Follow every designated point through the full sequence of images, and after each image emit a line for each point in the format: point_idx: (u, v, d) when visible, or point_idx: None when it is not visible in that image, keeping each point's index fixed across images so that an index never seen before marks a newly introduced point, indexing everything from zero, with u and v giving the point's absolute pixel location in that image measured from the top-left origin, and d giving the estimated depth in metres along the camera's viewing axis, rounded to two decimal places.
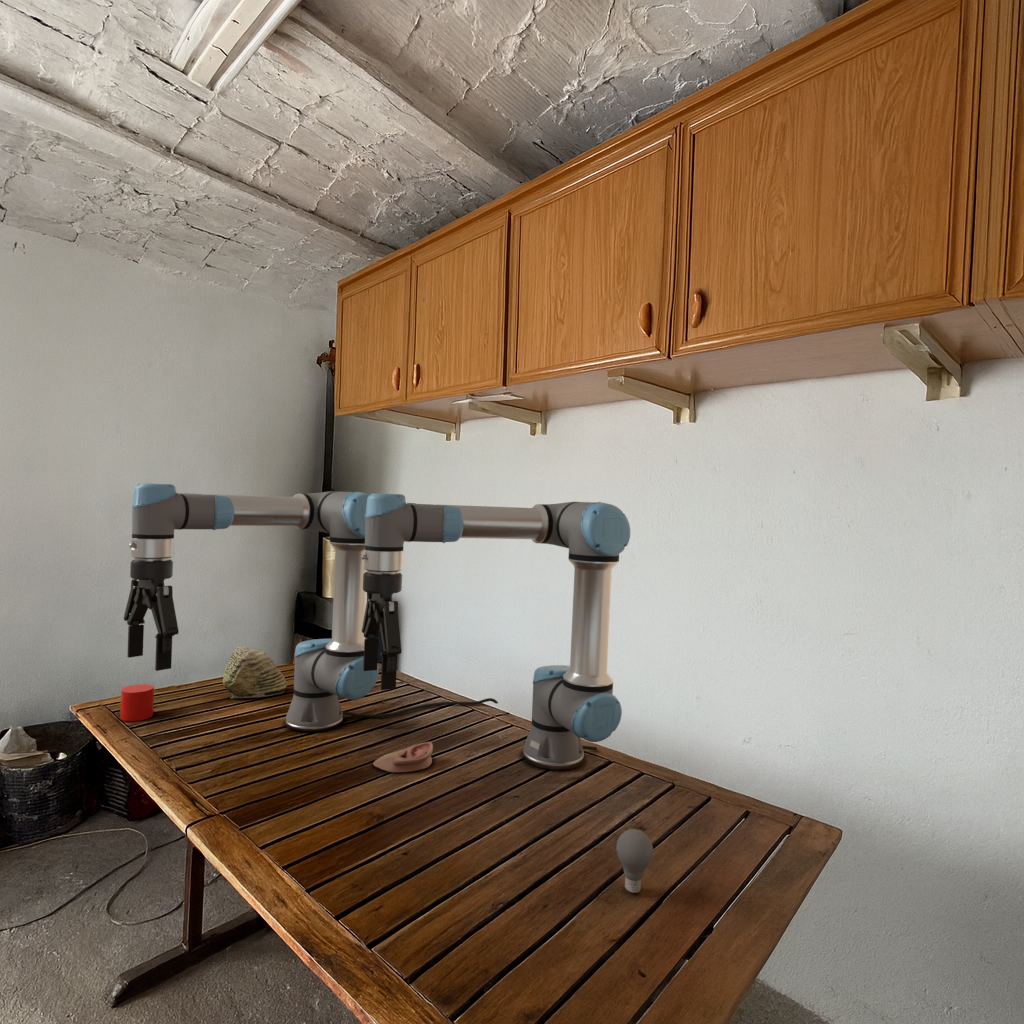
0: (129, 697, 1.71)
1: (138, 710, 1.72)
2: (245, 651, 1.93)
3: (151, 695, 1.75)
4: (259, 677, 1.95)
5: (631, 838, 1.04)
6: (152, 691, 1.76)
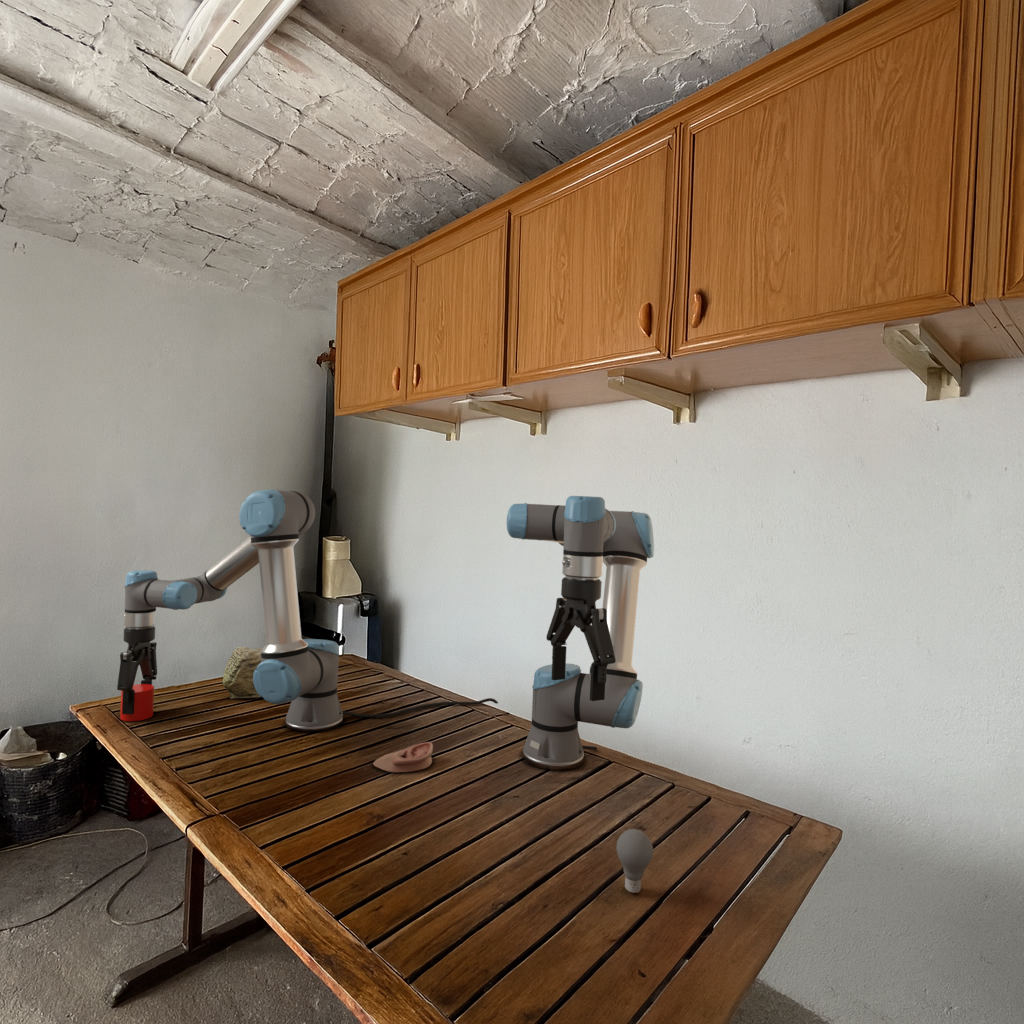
0: None
1: (138, 710, 1.72)
2: (245, 651, 1.93)
3: (151, 695, 1.75)
4: None
5: (631, 838, 1.04)
6: (152, 691, 1.76)
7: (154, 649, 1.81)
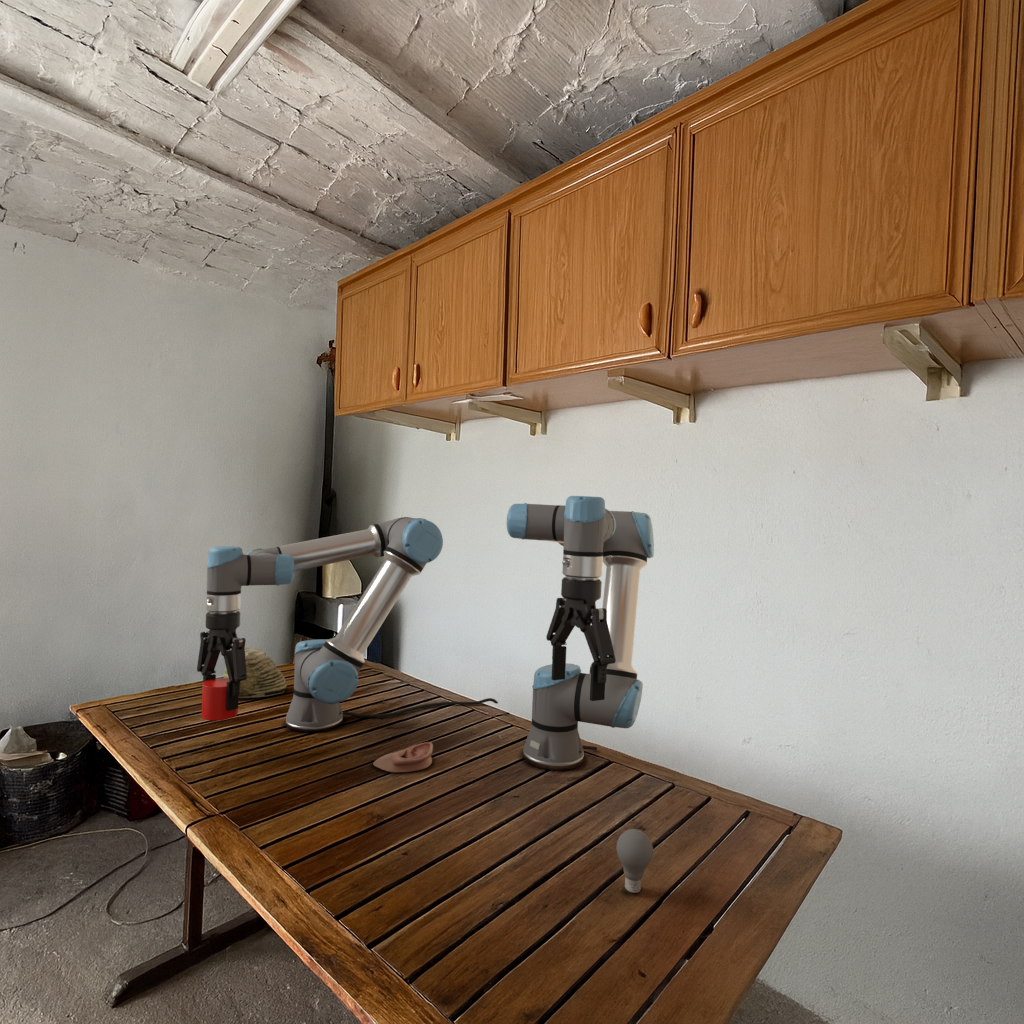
0: None
1: None
2: (245, 651, 1.93)
3: None
4: (259, 677, 1.95)
5: (631, 838, 1.04)
6: None
7: None
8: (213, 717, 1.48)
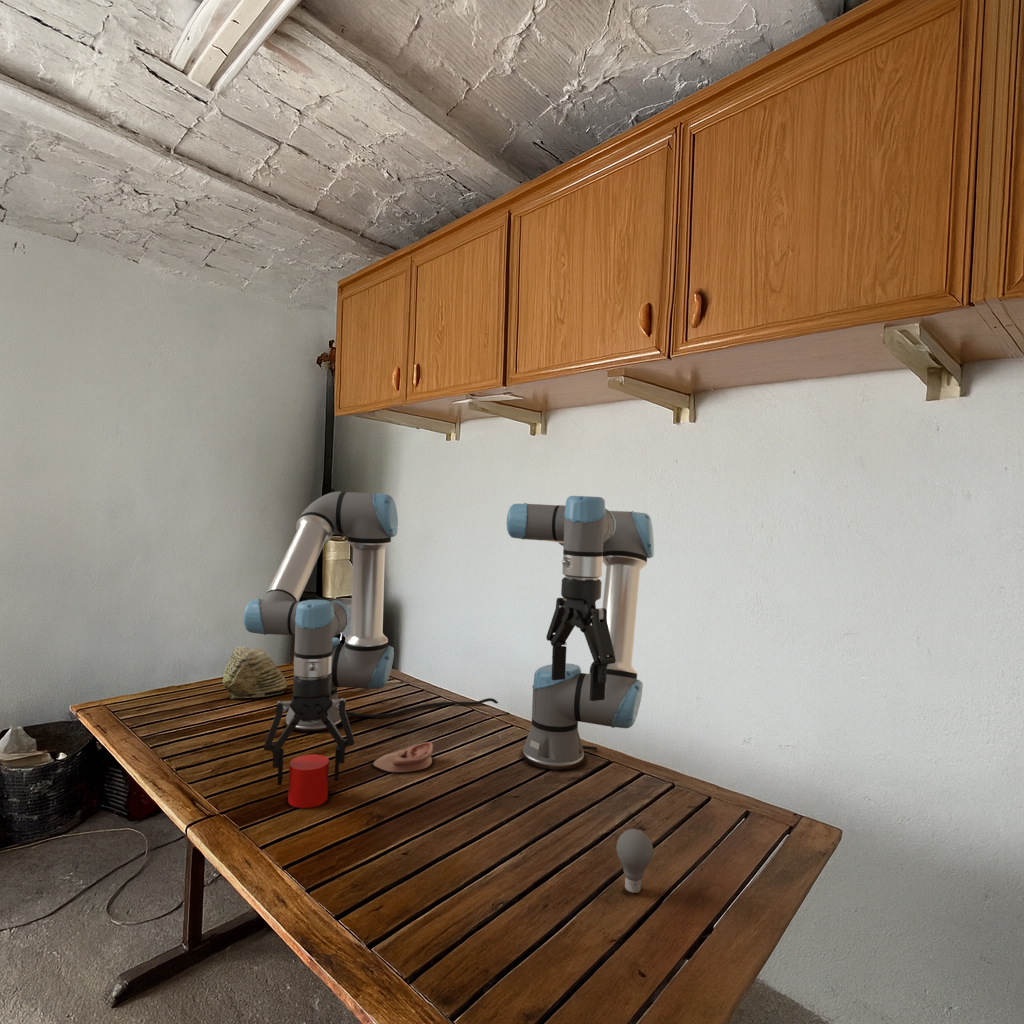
0: (328, 766, 1.34)
1: None
2: (245, 651, 1.93)
3: None
4: (259, 677, 1.95)
5: (631, 838, 1.04)
6: None
7: None
8: (318, 801, 1.30)
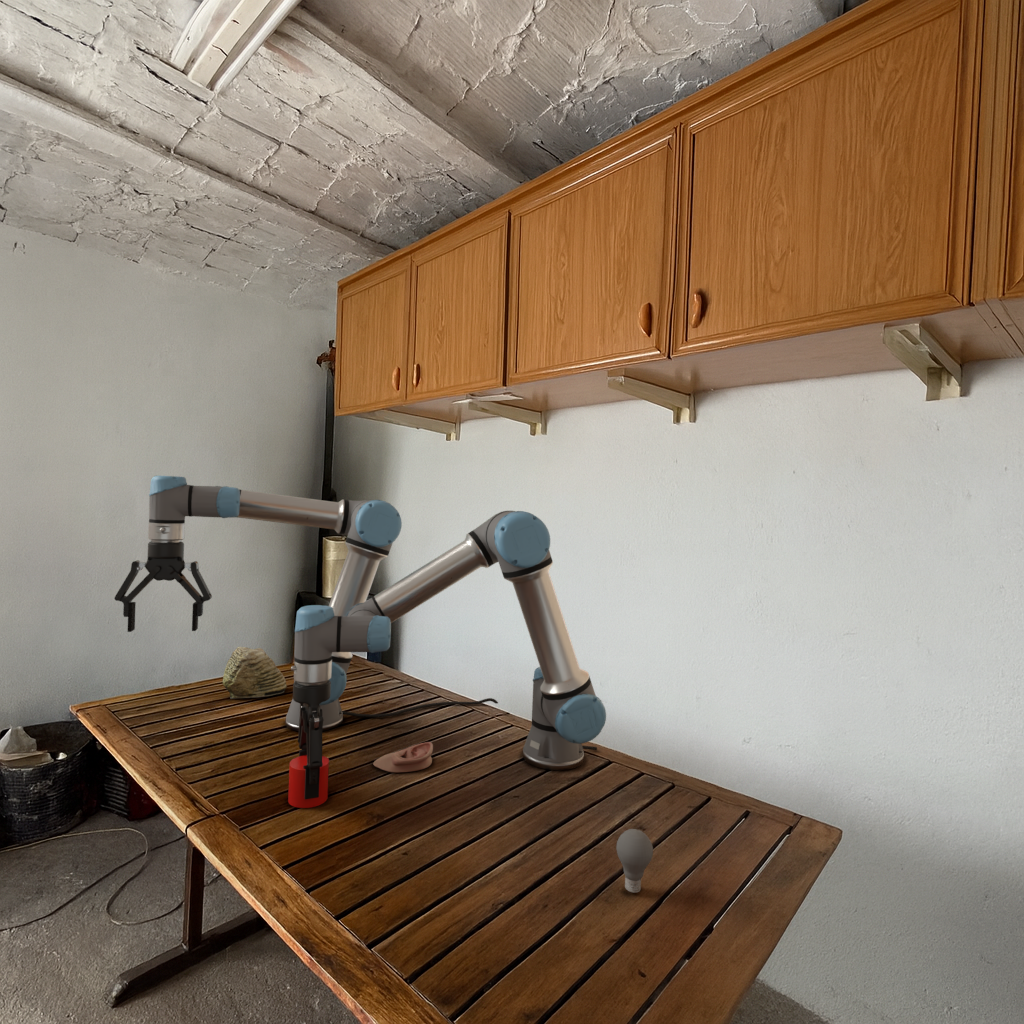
0: (328, 766, 1.34)
1: None
2: (245, 651, 1.93)
3: None
4: (259, 677, 1.95)
5: (631, 838, 1.04)
6: None
7: None
8: (318, 801, 1.30)
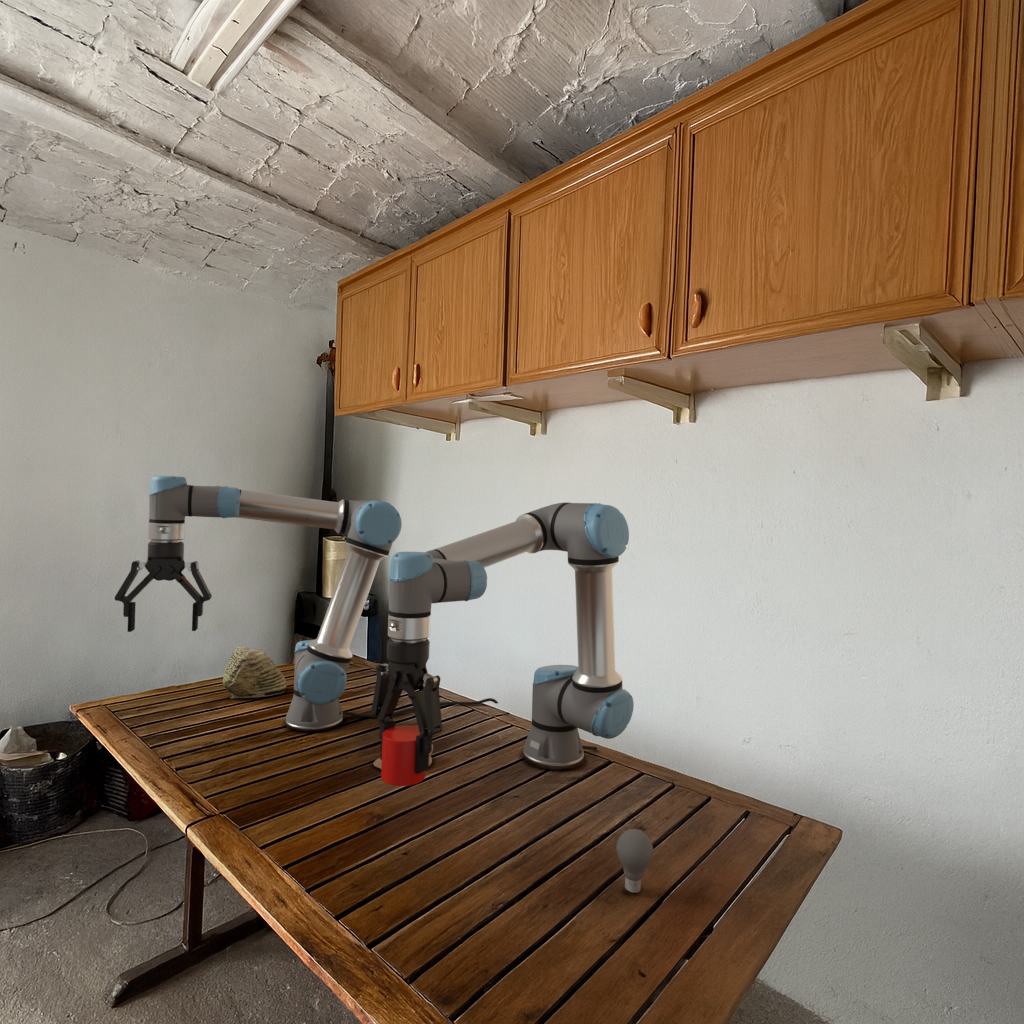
0: None
1: None
2: (245, 651, 1.93)
3: None
4: (259, 677, 1.95)
5: (631, 838, 1.04)
6: None
7: None
8: (424, 775, 1.13)
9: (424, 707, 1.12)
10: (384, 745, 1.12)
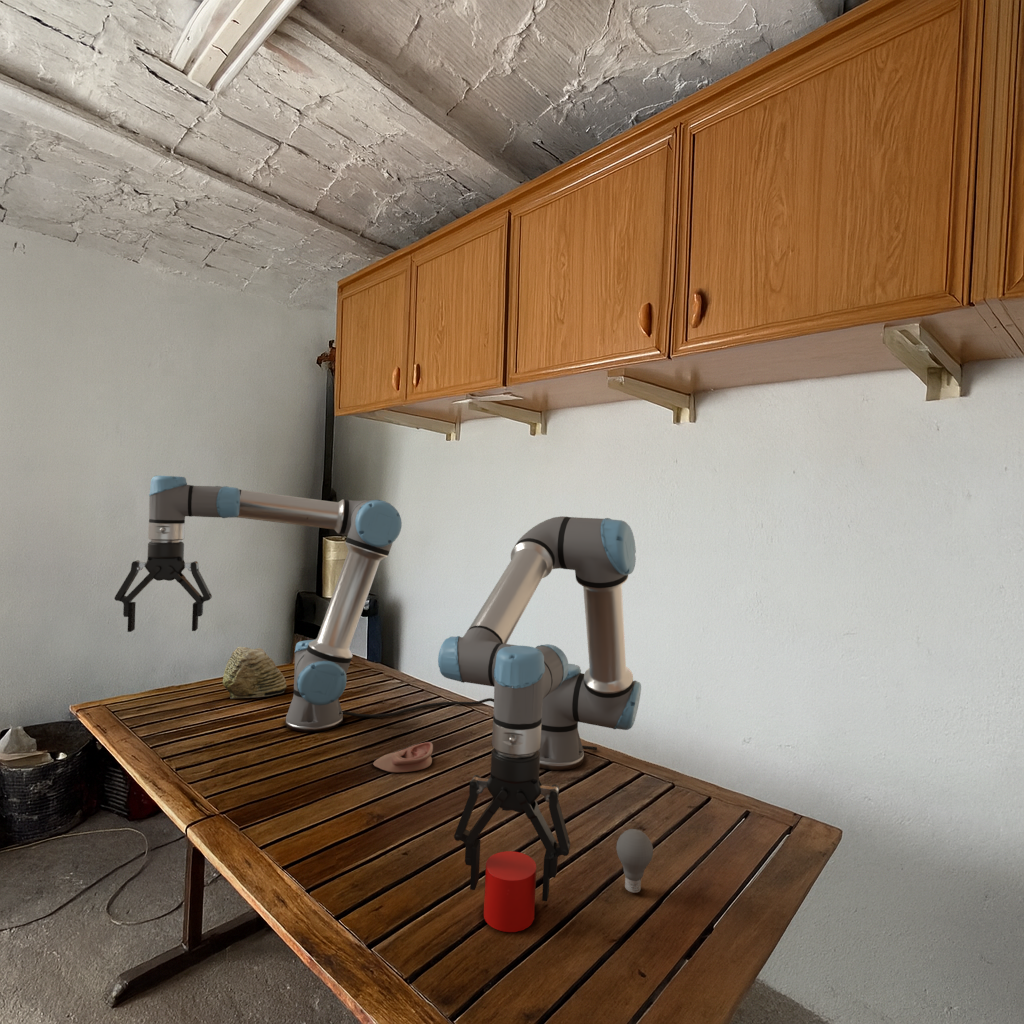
0: None
1: None
2: (245, 651, 1.93)
3: None
4: (259, 677, 1.95)
5: (631, 838, 1.04)
6: None
7: None
8: None
9: (544, 823, 0.97)
10: (497, 887, 0.95)
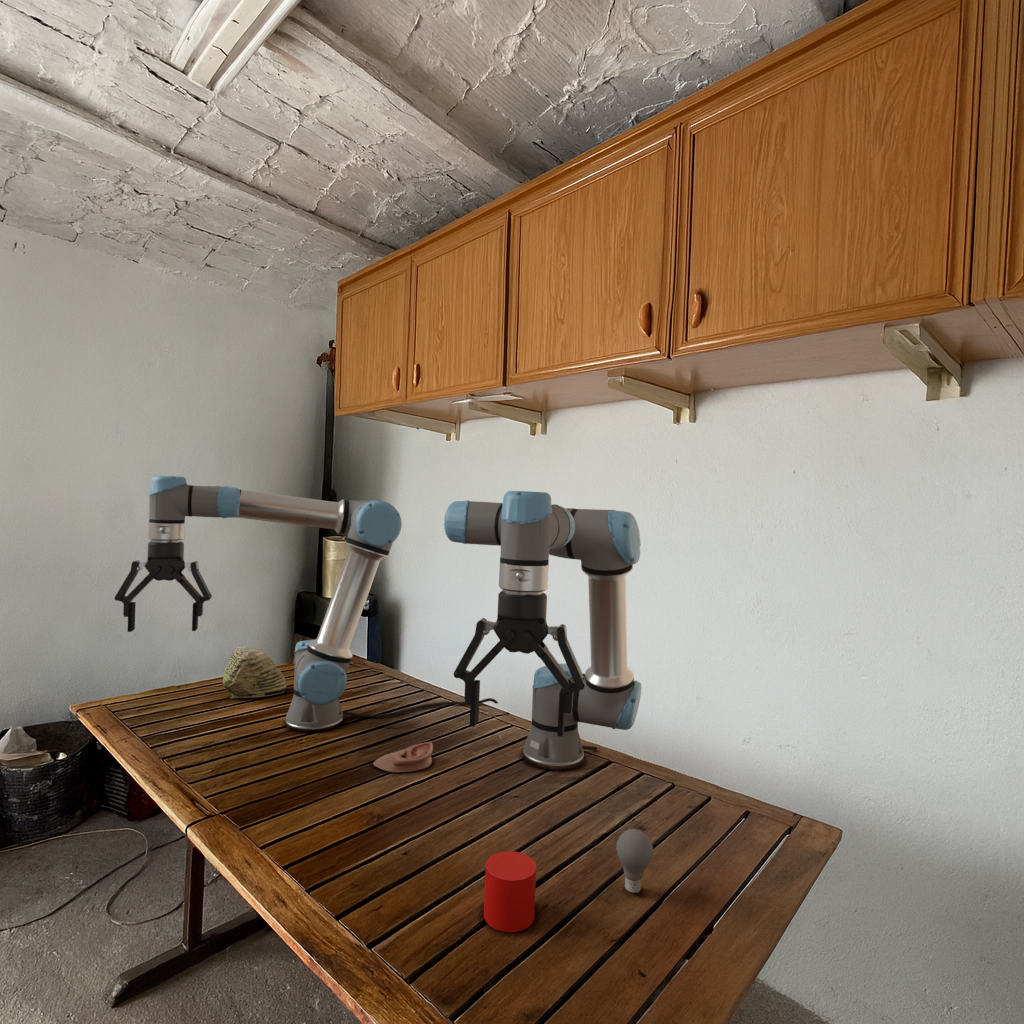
0: None
1: None
2: (245, 651, 1.93)
3: None
4: (259, 677, 1.95)
5: (631, 838, 1.04)
6: None
7: None
8: None
9: (556, 662, 0.97)
10: (497, 887, 0.95)
